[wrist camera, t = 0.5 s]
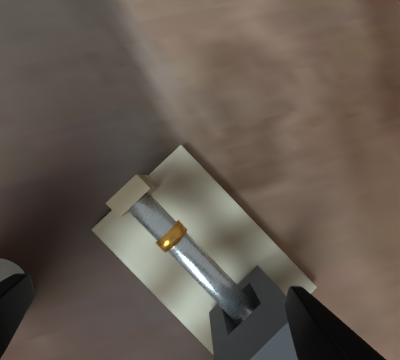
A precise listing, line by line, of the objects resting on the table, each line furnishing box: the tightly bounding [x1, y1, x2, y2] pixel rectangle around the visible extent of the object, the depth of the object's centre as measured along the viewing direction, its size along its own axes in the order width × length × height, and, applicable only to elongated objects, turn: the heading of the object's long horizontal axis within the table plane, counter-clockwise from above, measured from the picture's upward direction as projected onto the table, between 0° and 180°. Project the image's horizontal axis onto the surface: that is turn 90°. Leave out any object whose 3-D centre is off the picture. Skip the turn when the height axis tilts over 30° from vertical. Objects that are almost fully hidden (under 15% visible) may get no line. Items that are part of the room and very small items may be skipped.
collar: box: [209, 265, 298, 360], centre depth 16 cm, size 3×6×7 cm, turn 134°
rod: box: [128, 193, 258, 325], centre depth 17 cm, size 18×2×2 cm, turn 44°
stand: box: [92, 145, 317, 355], centre depth 19 cm, size 18×11×5 cm, turn 44°
